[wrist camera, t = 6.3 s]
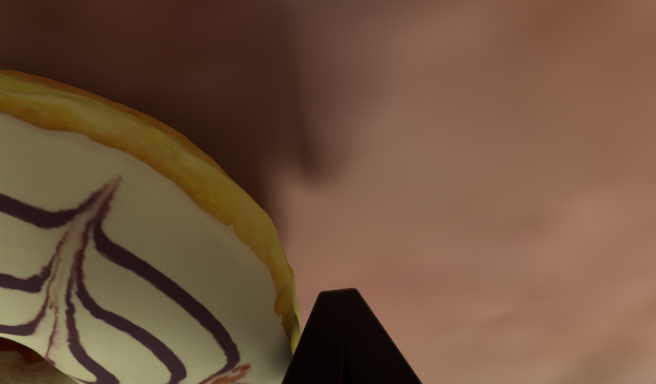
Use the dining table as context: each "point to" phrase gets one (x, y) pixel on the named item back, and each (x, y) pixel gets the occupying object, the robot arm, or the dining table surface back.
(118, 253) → the decorated donut
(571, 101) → the dining table surface
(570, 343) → the dining table surface
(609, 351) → the dining table surface
